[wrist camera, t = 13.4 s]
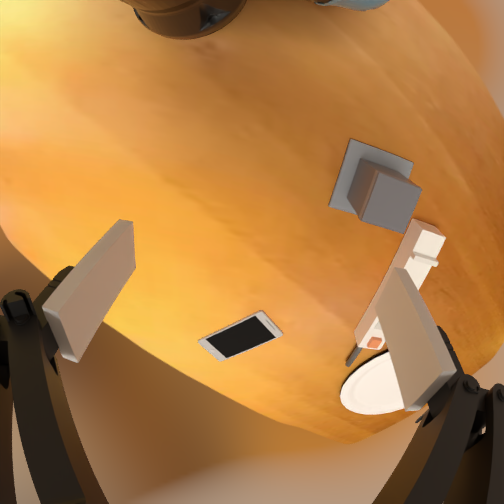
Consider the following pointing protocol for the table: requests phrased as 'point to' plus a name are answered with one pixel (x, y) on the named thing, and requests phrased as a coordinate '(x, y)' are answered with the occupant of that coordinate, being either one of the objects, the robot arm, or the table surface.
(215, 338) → the smartphone
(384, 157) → the mat
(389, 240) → the table surface
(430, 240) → the power strip
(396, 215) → the grey block
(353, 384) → the plate
